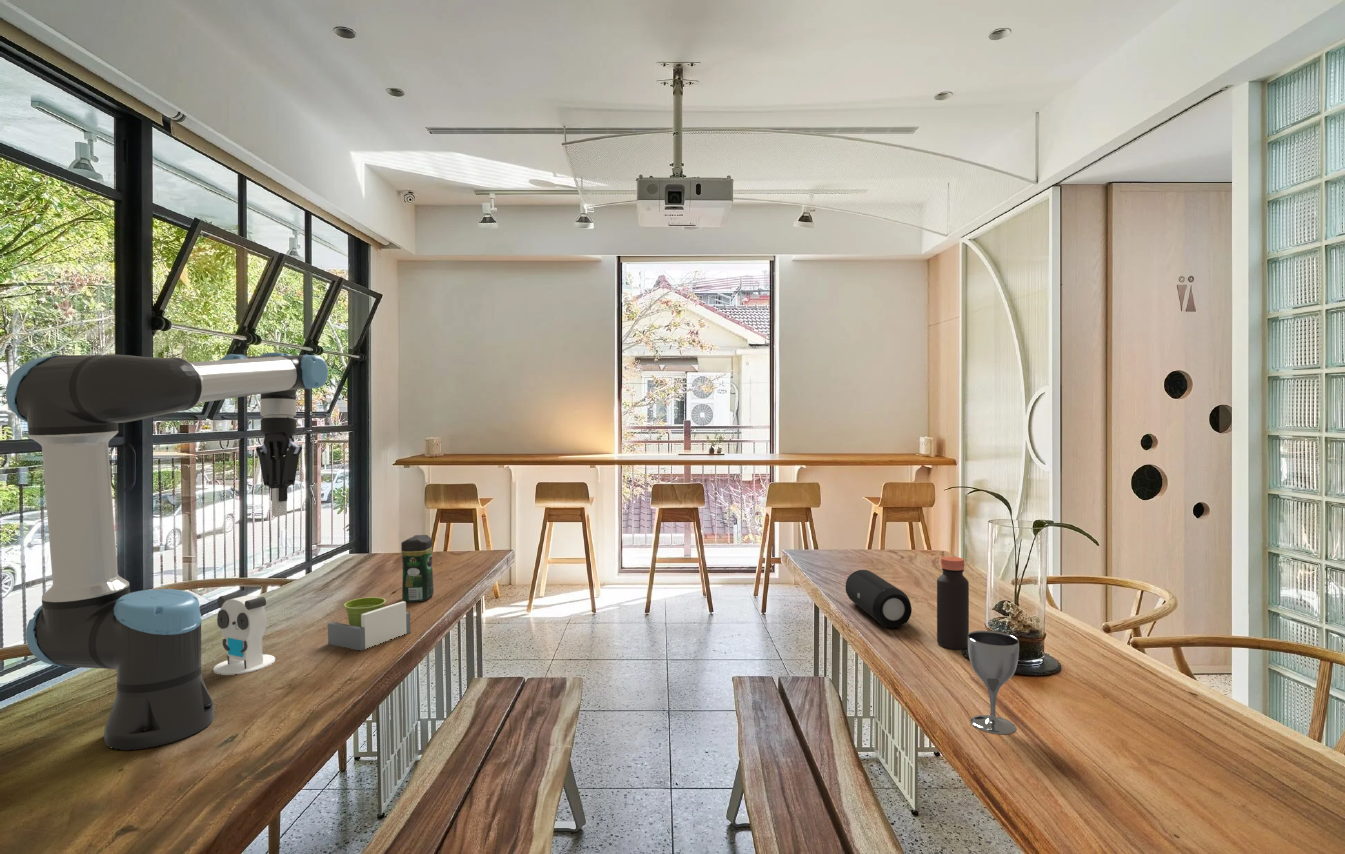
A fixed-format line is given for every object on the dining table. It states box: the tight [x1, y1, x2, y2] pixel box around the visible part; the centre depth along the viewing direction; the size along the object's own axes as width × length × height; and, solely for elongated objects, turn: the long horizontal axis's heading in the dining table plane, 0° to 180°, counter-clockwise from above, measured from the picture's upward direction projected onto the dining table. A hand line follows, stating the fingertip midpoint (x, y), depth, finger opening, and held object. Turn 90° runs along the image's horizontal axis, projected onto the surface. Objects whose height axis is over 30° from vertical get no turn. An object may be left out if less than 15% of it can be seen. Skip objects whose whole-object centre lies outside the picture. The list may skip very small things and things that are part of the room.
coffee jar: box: [400, 534, 434, 603], centre depth 199 cm, size 10×8×19 cm
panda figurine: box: [213, 592, 276, 676], centre depth 147 cm, size 12×11×15 cm
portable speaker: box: [845, 569, 912, 628], centre depth 179 cm, size 26×10×10 cm, turn 4°
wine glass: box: [967, 630, 1020, 735], centre depth 116 cm, size 8×8×15 cm
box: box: [327, 600, 411, 652], centre depth 164 cm, size 14×11×8 cm
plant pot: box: [343, 596, 387, 627], centre depth 164 cm, size 9×9×9 cm
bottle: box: [936, 556, 970, 650], centre depth 155 cm, size 7×7×20 cm
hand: (279, 515), depth 162 cm, fingers closed
